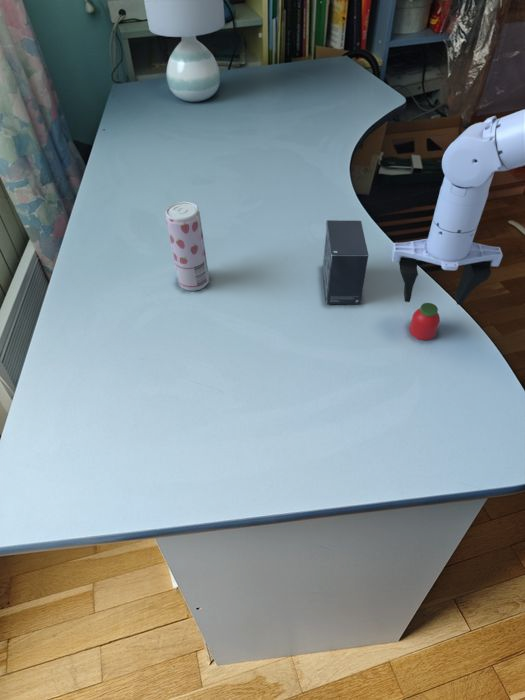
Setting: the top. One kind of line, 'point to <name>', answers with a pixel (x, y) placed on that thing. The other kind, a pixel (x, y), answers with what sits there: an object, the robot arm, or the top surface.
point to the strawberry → (425, 322)
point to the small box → (344, 262)
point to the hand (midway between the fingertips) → (432, 299)
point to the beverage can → (187, 245)
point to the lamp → (188, 44)
